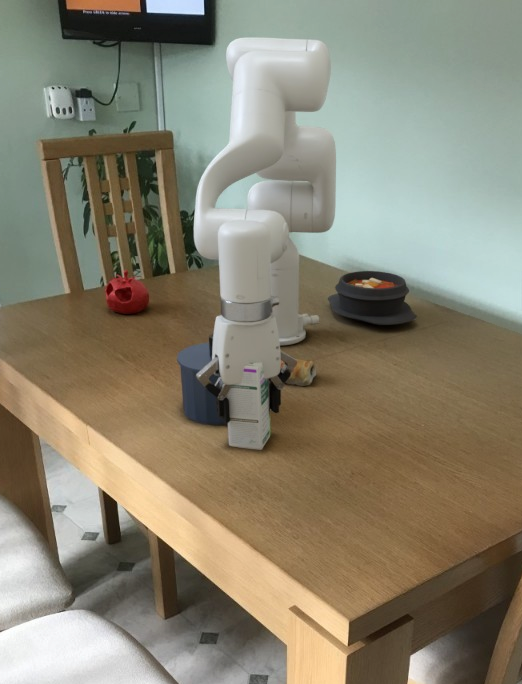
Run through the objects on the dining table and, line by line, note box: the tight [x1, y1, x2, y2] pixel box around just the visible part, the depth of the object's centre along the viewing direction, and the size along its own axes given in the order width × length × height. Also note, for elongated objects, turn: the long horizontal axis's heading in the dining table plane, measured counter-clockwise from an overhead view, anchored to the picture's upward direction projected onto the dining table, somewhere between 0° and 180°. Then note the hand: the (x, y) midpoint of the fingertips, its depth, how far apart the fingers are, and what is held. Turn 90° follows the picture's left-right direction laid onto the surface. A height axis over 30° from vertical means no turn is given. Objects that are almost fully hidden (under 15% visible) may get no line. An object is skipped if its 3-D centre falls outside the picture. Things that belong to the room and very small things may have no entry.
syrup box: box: [226, 362, 272, 451], centre depth 130 cm, size 6×6×14 cm
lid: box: [176, 333, 214, 374], centre depth 138 cm, size 13×13×5 cm
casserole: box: [327, 270, 417, 326], centre depth 187 cm, size 25×19×8 cm
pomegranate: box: [104, 269, 150, 315], centre depth 187 cm, size 10×10×9 cm
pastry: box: [281, 358, 317, 387], centre depth 155 cm, size 9×7×4 cm
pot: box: [179, 365, 228, 426], centre depth 141 cm, size 12×13×10 cm
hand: (248, 414), depth 131 cm, fingers closed on syrup box, 8 cm apart
